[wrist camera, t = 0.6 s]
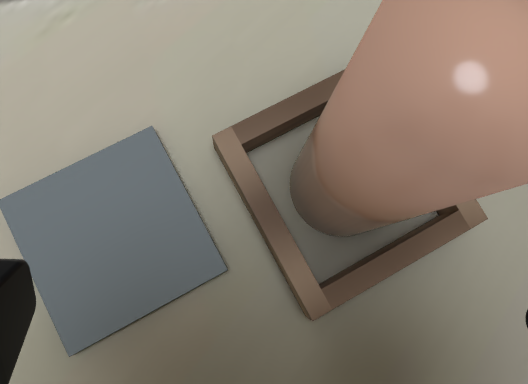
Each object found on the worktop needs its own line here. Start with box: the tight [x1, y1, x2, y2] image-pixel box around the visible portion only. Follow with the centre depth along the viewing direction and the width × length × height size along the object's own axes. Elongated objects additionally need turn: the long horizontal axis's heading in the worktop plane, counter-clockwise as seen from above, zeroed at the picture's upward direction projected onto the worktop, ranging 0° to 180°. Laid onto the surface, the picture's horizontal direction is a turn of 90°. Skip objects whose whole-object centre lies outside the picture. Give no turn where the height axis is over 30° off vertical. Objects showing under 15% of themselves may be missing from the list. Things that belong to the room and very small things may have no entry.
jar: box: [290, 0, 528, 237], centre depth 16 cm, size 5×5×14 cm
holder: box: [212, 70, 488, 321], centre depth 21 cm, size 10×10×2 cm
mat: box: [0, 126, 228, 357], centre depth 21 cm, size 8×8×1 cm
